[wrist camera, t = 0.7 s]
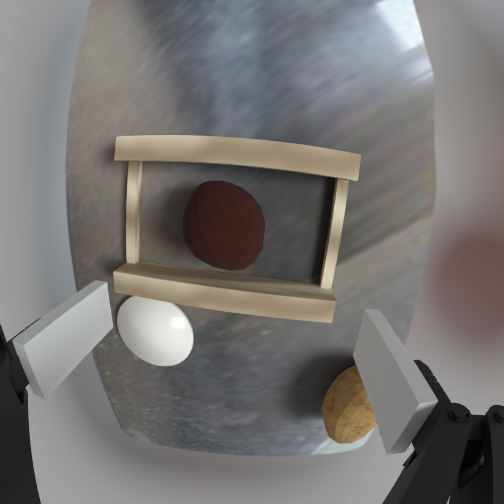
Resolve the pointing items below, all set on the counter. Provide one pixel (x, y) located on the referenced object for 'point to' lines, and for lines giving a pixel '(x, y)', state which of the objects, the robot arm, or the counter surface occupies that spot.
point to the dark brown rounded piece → (224, 226)
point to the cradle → (225, 284)
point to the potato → (347, 408)
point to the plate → (155, 330)
